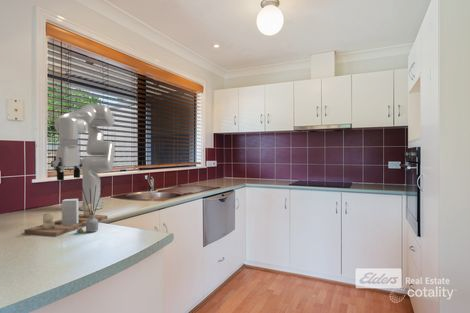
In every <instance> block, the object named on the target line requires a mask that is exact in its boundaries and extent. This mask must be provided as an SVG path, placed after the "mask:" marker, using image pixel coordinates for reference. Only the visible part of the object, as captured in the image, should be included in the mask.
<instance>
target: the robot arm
mask: <svg viewBox="0 0 470 313" xmlns="http://www.w3.org/2000/svg"><path fill="white" fill-rule="evenodd" d="M114 125H115V117H114V114H113V112H112V111H111V109H110V108H109V107H108V106H107V105H106V104H93V103H89V104H85V105H84V106H82V107H81V108H80V109H78V110H75V111H71V112H67V113H63V114H61V115H60V116H58V117H57V118H56V120H55V121H54V129H55V131H56V132H58V144H59V145H57V148H56V151H55V152H56V154H55V160H53V161H52V163H51V165H52V167H53V169H54V171H55V172H56V180H57V181H64V180H65V173H64V170H65V169H66V168H70V167H71V168H74V169H73V178H74V179H75V178H78V179H80V178H81V176H82V187H83V190H82V206H79V207H78V210H79V211H84V205H85V204H87V203H88V204H93V203H94V209H93V211H95V209H96V210H101V209H103V208H104V205H102V204H104V203H106V200H105V199H101V196H100V194H101V178H100V176H99V175H98V173H108V172H111V171H112V170H113V168H114V161H115V152H116V151H115V150H116V149H115V148H116V146H115V143H114V142H113V141H111V140H104V133H103V132H102V130H101V129H99V127H101V128H102V127H103V128H104V127H107V128H109V127H113V126H114ZM86 132H87V133H88V136H87V143H86V153H87V155H88V156H85V157H82V159H81V156H80V155H81V154H80V149H79V146H78V145H79V141H78V140H79V139H78V134H84V133H86ZM81 173H82V175H81ZM95 187H96V193H95ZM83 191H84V193H83ZM90 191H91V202H90ZM84 194H85V196H84ZM94 195H95V201H94ZM85 197H86V199H85ZM99 197H100V199H99ZM86 200H87V203H86ZM98 200H99V202H98ZM97 203H98V205H97ZM96 206H97V208H96Z"/></svg>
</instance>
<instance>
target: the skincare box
mask: <svg viewBox="0 0 470 313" xmlns="http://www.w3.org/2000/svg"><path fill="white" fill-rule="evenodd" d="M78 215H79V198H68V199H67V198H65V199H63V200H61V219H62V224H61V225H69V226H71V225H74V224H77V223H79V217H78Z"/></svg>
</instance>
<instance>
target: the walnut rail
mask: <svg viewBox="0 0 470 313" xmlns="http://www.w3.org/2000/svg"><path fill="white" fill-rule="evenodd" d="M88 207H89V209H88ZM91 207H92V211H93V212H94V210H93V204H88V206H87V204H85V205H84V210H83V213H80V214H79V213H78V217H79V223H77V224H74V225H71V226H69V225H62V218H60V219H58V220H56V219H55V217H56V216H55V213H50V212H49V213H44V214H42V224H40V225H36V226H33V227H30V228H26V229H24V230H23V231H24V234H27V235H40V236H49V237H59V236H61V235H64V234H68V233H70V232H73V231H77V229H78V228H79V227H81V228H82V229H83V228H84V227H85V228H86V221H87V220H88V219H90V213H91ZM89 210H90V212H89ZM95 219H97V220H98V223H99V222H102V221H105V220H107V219H108V215H104V214H103V215H102V214H101V215H100V214H95Z"/></svg>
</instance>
